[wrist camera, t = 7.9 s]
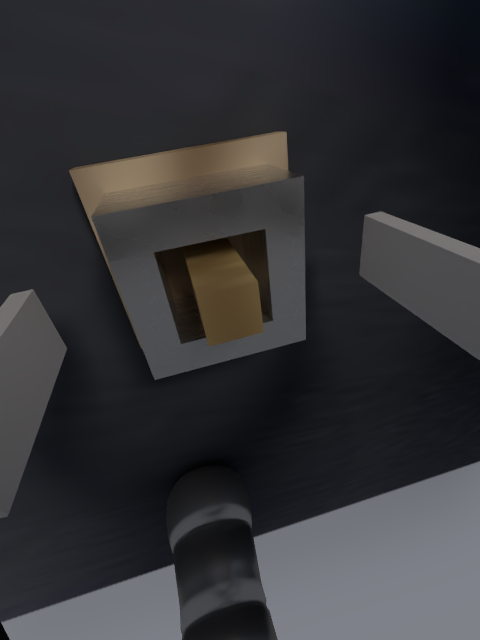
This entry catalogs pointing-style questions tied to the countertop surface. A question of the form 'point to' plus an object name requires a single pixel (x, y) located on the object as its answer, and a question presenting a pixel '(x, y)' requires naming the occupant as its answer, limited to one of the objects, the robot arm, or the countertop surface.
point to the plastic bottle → (216, 558)
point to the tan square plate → (206, 257)
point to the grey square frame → (200, 226)
